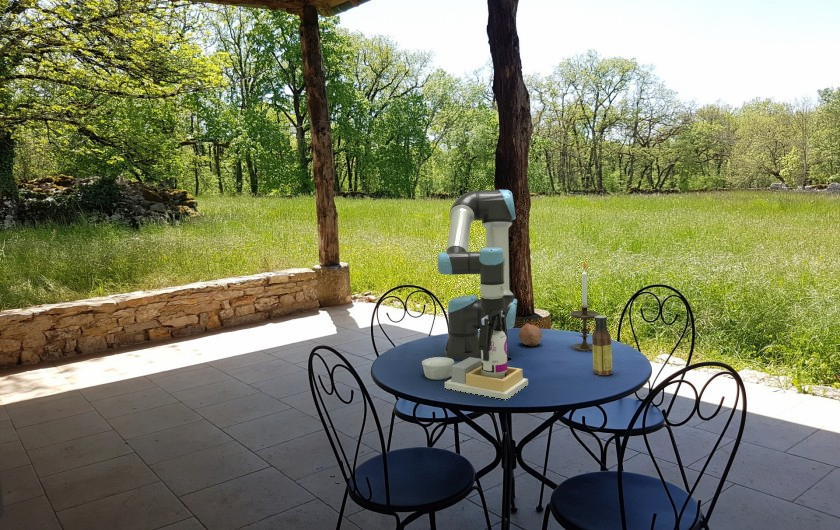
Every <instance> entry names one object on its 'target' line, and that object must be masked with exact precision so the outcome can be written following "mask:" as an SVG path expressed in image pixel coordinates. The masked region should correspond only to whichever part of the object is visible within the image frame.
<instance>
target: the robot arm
mask: <svg viewBox="0 0 840 530" xmlns="http://www.w3.org/2000/svg"><path fill="white" fill-rule="evenodd" d="M448 217H449V221H450V226H449V231H448V236H447V243H446V250H445V251H444V252H439V254H438V256H437V270H438V273H439V274H440V275H449V276H453V275H455V276H456V275H479V276H480V281H479V282H480V283H479V284H480V286H479V287H480V288H479V289H480V296H481V298H480V299H479V298H478V295H476V294H468V295H461V296H457V297H454V298H451V299H450V300H448V302H447V320H448V322H447V325H448V338H447V342H446V344H445V348H444V356H445V357H446V358H451V359H453V360H454V361H455V360H456V361H463V360H465V359H467V358H469V357H472V358H478V359H481V350H483V370H486V371H492V350H490V347H491V339H492V335H493V330H494V331H504V333H505V335H506V337H507V340H508V337H509V335H508V330H511V329H513V328H514V327H515V325H516V324H515V323H516V314H517V307H518V305H517V304H518V299H517V298H514V293H513V292H512V291H511V290H510V259H509V258H510V255H509V254H510V252H509V228H510V227H511V226H512V225H513V220H516V219H517V217H516V209H515V203H514V196H513V193H512V191H510V190H509V189H489V190H488V189H487V190H472V191H471V190H470V191H468V192H466V193H464V194H462V195H461V196H460V197H458V198H456V200H455V201H454V202H453V204H452V205H451V207H450V211H449V215H448ZM474 221H481V226H483V227H484V229H485V241H486V242H485V243H486V244H485V245H486V247H483V248H481V249H480V250H479V251H469V244H470V235H471V227H472V225H471V224H472V223H473V222H474Z"/></svg>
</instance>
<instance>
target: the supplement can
mask: <svg viewBox="0 0 840 530" xmlns="http://www.w3.org/2000/svg"><path fill="white" fill-rule="evenodd" d="M507 345H508V339H507V337H506V335H505V333H504V331H494V330H493V335H492V339H491V347H490V350H492V371H486V370H483V350H481V357H480V359H481V365H482V376H486V377H492V378H498V379H503V378H505V377H506V376H507V367H508V347H507Z"/></svg>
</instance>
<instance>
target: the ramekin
mask: <svg viewBox="0 0 840 530" xmlns="http://www.w3.org/2000/svg"><path fill="white" fill-rule="evenodd" d="M421 365H422V368H423V372H424V376H425V377H426V378H427V379H429V380H434V381H435V380H436V381H437V380H438V381H439V380H440V381H441V380H447V379H449V378H452V374H451V366H453V365H455V360H454V359H451V358H447V357H446V356H445V357H444V356H437V357H436V356H435V357H429V358H426V359H423V360H422V361H421Z"/></svg>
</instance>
